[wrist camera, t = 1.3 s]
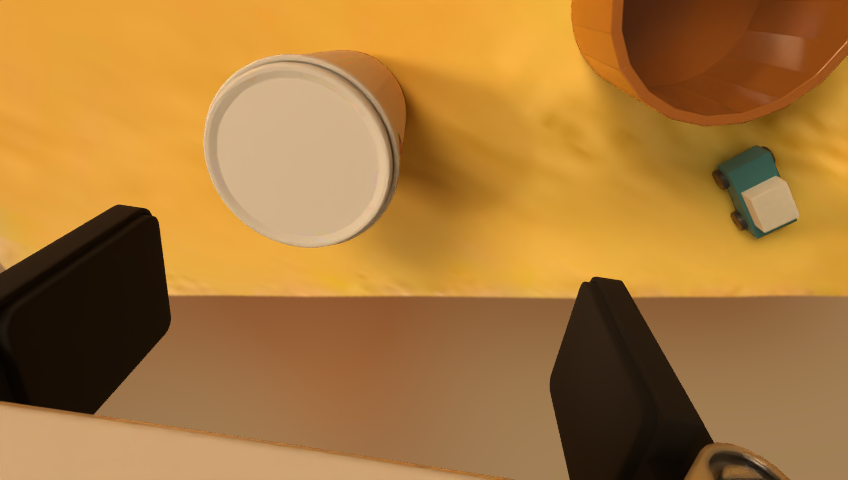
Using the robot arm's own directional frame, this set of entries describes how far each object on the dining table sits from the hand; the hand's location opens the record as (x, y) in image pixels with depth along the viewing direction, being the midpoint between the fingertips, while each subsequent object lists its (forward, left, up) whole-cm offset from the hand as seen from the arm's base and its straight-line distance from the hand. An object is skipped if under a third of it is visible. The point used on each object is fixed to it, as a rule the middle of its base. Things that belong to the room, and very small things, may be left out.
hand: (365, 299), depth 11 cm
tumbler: (-14, +5, -24) cm, 28 cm away
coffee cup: (+5, -3, -24) cm, 25 cm away
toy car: (-12, +19, -24) cm, 33 cm away
